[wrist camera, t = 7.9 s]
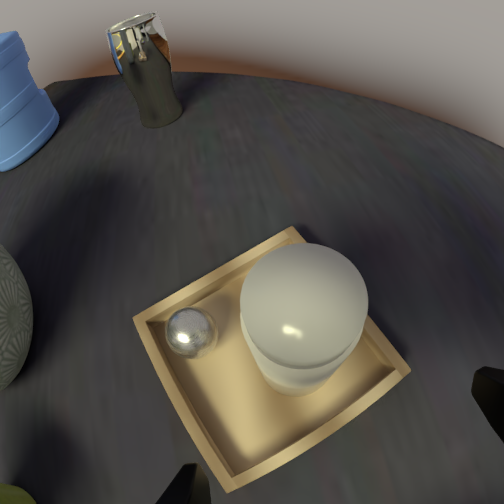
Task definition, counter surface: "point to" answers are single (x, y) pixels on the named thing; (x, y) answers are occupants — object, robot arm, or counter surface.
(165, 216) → the counter surface
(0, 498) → the plant pot
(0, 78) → the water jug
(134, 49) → the beer glass
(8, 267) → the planter
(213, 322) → the ball
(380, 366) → the tray
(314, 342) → the ball
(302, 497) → the counter surface
